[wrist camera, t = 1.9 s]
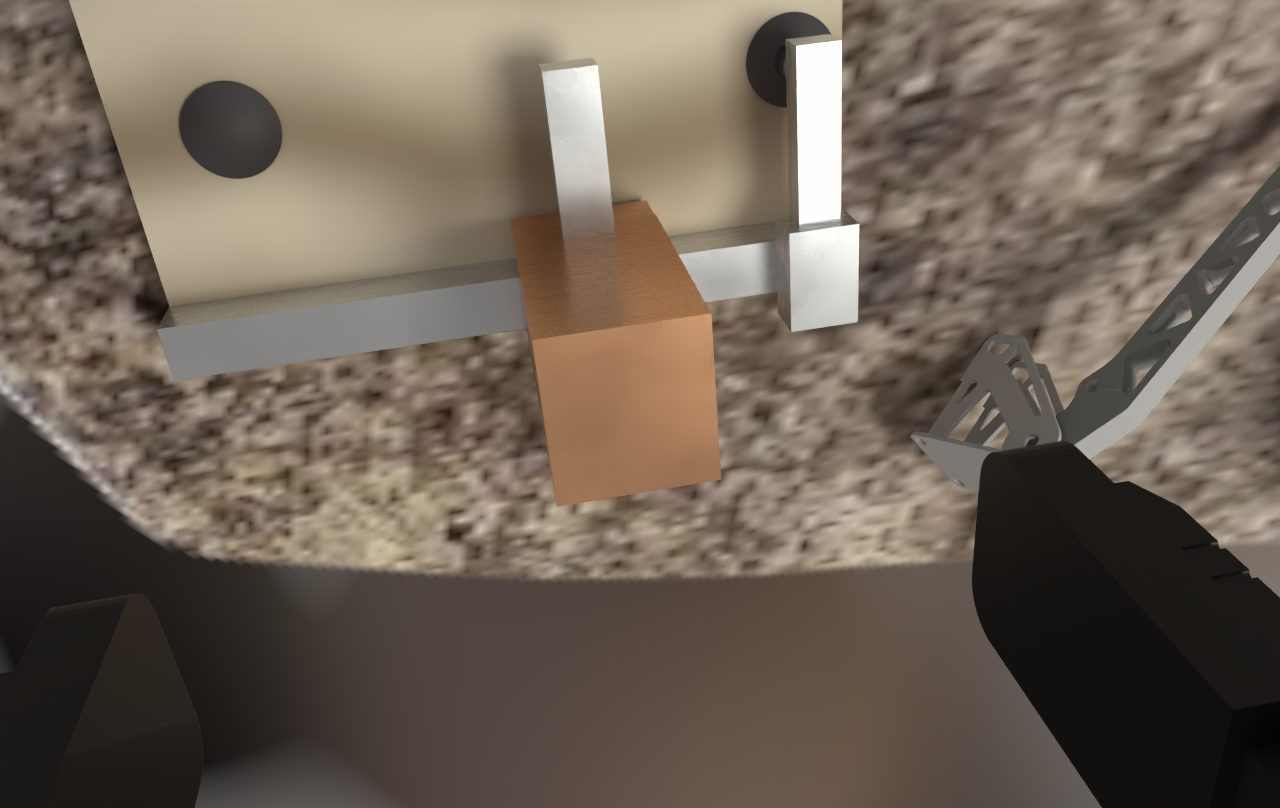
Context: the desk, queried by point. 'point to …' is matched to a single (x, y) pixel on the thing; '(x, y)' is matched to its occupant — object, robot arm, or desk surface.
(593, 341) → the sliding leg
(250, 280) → the bolt plate
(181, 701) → the robot arm
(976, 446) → the bracket
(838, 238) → the divider beam
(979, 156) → the desk surface
